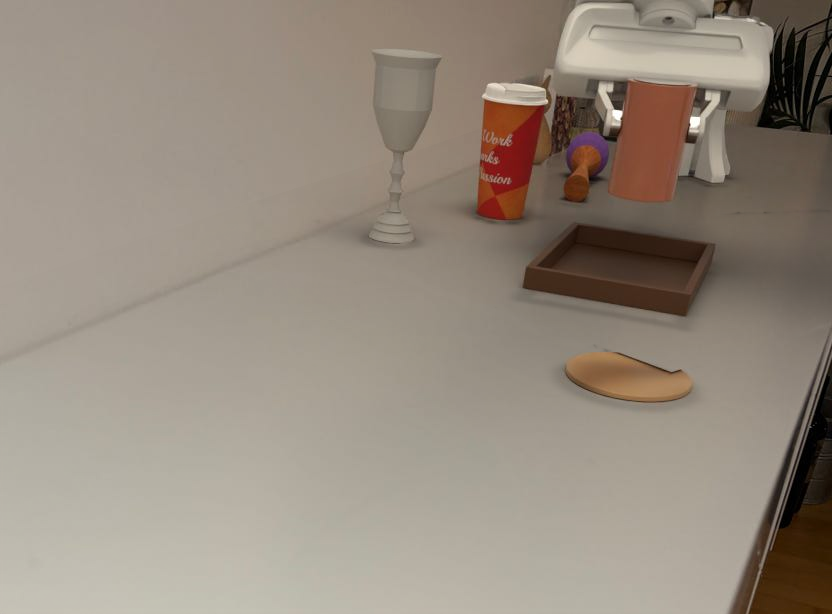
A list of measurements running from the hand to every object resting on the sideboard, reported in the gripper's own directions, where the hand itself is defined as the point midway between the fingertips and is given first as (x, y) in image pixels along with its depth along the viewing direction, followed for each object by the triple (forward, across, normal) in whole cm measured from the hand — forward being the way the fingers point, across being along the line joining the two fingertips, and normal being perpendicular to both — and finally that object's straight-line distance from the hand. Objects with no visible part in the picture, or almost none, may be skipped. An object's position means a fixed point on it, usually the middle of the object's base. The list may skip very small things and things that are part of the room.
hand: (652, 136), depth 103 cm
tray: (+9, 0, -10) cm, 14 cm away
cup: (+3, 0, -4) cm, 5 cm away
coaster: (+30, +1, +10) cm, 32 cm away
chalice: (+4, +25, -16) cm, 30 cm away
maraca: (-23, +4, -43) cm, 49 cm away
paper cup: (-8, +14, -28) cm, 32 cm away
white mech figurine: (-36, -14, -55) cm, 67 cm away
